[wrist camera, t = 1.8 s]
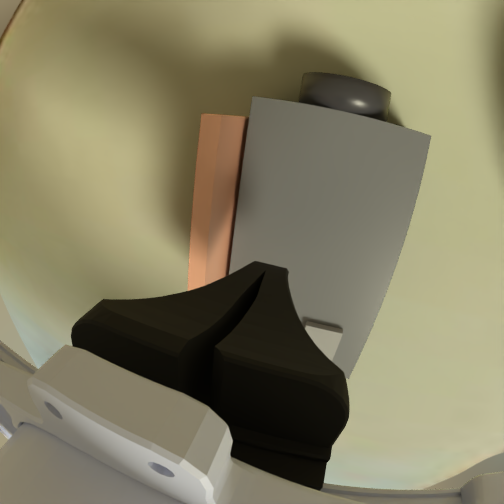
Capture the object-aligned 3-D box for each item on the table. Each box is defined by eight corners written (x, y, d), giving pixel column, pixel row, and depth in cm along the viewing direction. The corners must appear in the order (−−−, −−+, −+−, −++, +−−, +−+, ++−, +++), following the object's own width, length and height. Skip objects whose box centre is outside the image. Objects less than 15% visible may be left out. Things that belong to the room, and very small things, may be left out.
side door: (238, 296, 22) (200, 362, 16) (227, 294, 22) (186, 357, 16) (264, 118, 17) (221, 115, 11) (250, 116, 17) (201, 113, 11)
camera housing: (349, 334, 21) (348, 383, 17) (241, 307, 22) (218, 350, 18) (413, 107, 14) (439, 101, 10) (276, 77, 16) (255, 61, 11)
